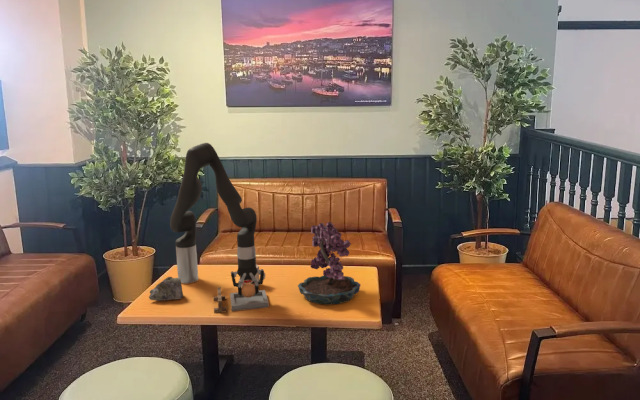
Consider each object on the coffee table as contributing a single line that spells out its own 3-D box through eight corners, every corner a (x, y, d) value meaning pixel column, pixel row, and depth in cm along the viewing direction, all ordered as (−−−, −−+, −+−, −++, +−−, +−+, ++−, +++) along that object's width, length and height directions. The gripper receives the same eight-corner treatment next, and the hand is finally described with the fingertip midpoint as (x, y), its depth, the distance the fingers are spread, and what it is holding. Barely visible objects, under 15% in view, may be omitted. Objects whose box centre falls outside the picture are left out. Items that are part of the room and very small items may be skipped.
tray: (230, 297, 235) (230, 293, 235) (265, 294, 238) (264, 289, 238) (231, 311, 221) (231, 306, 221) (268, 307, 224) (268, 302, 223)
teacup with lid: (237, 288, 246) (235, 264, 244) (243, 282, 255) (242, 258, 253) (263, 289, 244) (261, 264, 242) (268, 283, 253) (267, 258, 250)
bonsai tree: (362, 309, 220) (361, 230, 213) (295, 309, 221) (292, 231, 214) (359, 279, 254) (358, 211, 248) (301, 280, 255) (298, 212, 249)
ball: (238, 297, 229) (237, 283, 228) (250, 293, 233) (250, 280, 232) (246, 300, 225) (245, 287, 224) (258, 297, 229) (257, 283, 227)
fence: (213, 298, 235) (213, 287, 234) (225, 297, 235) (224, 286, 234) (214, 313, 219) (213, 301, 218) (226, 311, 220) (226, 300, 219)
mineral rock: (148, 303, 232) (146, 280, 230) (159, 294, 242) (157, 272, 240) (177, 304, 230) (175, 281, 228) (186, 294, 240) (185, 273, 238)
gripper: (229, 260, 221) (231, 299, 224) (264, 257, 223) (266, 296, 227) (228, 254, 228) (230, 293, 231) (263, 252, 231) (264, 289, 234)
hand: (248, 294), depth 229 cm, fingers closed on ball, 6 cm apart
